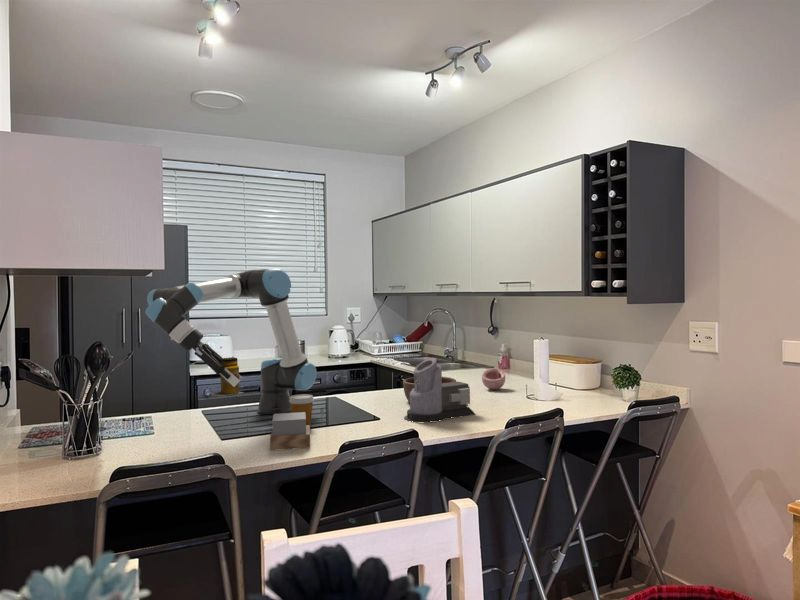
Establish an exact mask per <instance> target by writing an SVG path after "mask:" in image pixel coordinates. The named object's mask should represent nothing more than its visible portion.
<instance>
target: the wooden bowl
mask: <svg viewBox="0 0 800 600" xmlns="http://www.w3.org/2000/svg"><path fill="white" fill-rule="evenodd" d="M450 382H457V380H456V379H455V378H452V377H450V376H449V377H447V376H442V383H450ZM402 388H403V392H404V395H405V398H406V400H407V401H408V402H409V403H410V392H411V391H412V389H413V388H414V376H413V377H408V378H405V379H403V381H402Z"/></svg>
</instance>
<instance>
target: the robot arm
mask: <svg viewBox="0 0 800 600" xmlns="http://www.w3.org/2000/svg"><path fill="white" fill-rule="evenodd" d="M291 282H292V281H291V279H290V276H289V274H288V273H286V272H285V271H284V270H282V269H279V268H272V267H271V268H261V269H251V270H247V271H243V272H242V271H241V272H239V273H235V274H234V273H233V274H229V275H227V276H226V278H221V279H219V278H218V279H215V280H209V281H207V280H206V281H203V282H202V281H201V282H195V283H194V282H188V283H187V284H183V285H179V286H178V285H177V286H174V287H173V286H171V287H167V288H156V289H152V290H150V291H149V292H148V294H147V298H146V301H147V305H148V306H147V307H146V309H145V315H146V316H147V317H148V318H149V319H150V320H151V321H152V323H154V324H155V325H156V326H157V327H158V328H159V329H161V330H162V331H163V332H165V333H166V334H167V336H168V337H170V340H171V341H175V342H176V343H177V344H179V346H180V347H181V348H182V349H183V350H184V351H186V352H190V351H191V350H194V355H195V356H197V357H198V358H199V359H200V360H201V361H202V362H203V363H204V364H206V366H208V367H209V368H210V369H211V370H212V371H213V372H214V373H215V375H216V376H219V375H220V377H221V376H222V377H223V378H224V379H226V380H227V381H228V382H229V383H230V384H231V385H232V386H233V387H235V386H236V385H237V384H238V383H239V384H240V382H241V380H242V379H243V376H242V375H240V374H239V379H238V378H236V377H235V376H234V375H233V374H232V373H231V372H230V371H229V370H228V369H226V368H224V367H223V366H222V364H221V363H222V361H221V360H222V359H223V358H224V357H222V356H221V355H220V354H218V352H217V351H215V349H213V348H212V347H211V346H210V345H209V344H208V343H206V342H205V343H203V342H202V341H201V340H203V338H204V334H203V333H202V332H201V331H199V330H198V329H196V328H195V326H194V325H193V324H192V323H191V322H190V321H188V319H186V318H185V317H184V316H185V315H186V314H188V313H189V312H190V311H191V310H193V309H194V308H195V307H196V306H197V305H199V304H200V303H205V302H210V301H215V300H219V299H225V298H231V299H237V298H255V299H259V303H260V305H261V307H263V308H265V310H266V312H267V316H268V319H269V322H270V325H271V326H270V327H271V328H272V332H273V335H274V339H275V341H276V345H277V348H278V352H279V355H280V358H279V357H278V358H271V359H265V360H263V361H262V362H261V365H260V380H261V381H260V383H261V386H260V387H261V394H260V395H261V396H260V400H259V402H258V405H257V412H258V413H260V414H262V415H274V414H281V413H291V412H292V411H291V404H290V401H289V400H290V397H291V396H290V393H289V390H297V391H306V390H309V389H311V387H312V386H313V385H314V383H315V382H316V379H317V368H316V366H315V365H314V363H311V362H309V361H308V357H307V355H306V354H305V353H303V352H302V350H301V347H300V343H299V340H298V336H297V333H296V330H295V326H294V323H293V320H292V316H291V313H290V310H289V307H288V300H289V298H290V297H289V296H290V293H291V288H292V283H291Z"/></svg>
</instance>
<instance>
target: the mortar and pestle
mask: <svg viewBox="0 0 800 600" xmlns="http://www.w3.org/2000/svg"><path fill="white" fill-rule="evenodd" d="M481 382H482V384H483V385H484V386H485V388H487V389H488V390H491V391H496V390H499V389H501V388H502V387H503V386H504V385H505V383H506V374H505V372H504V371H503V370H501V369H498V368H494V367H492V368H489V369H486V370H485V371H483V372H482V374H481Z"/></svg>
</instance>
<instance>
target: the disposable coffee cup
mask: <svg viewBox="0 0 800 600" xmlns="http://www.w3.org/2000/svg"><path fill="white" fill-rule="evenodd" d="M314 400H315V398H314V395H312V394H309V393H308V394H304V393H303V394H302V393H301V394H294V395H291V396H290V400H289V401H290V404H291V411H290V412H291V413H297V412H305V415H306V425H310V426H311V424H312V413H313V405H314V404H313V403H314Z"/></svg>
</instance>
